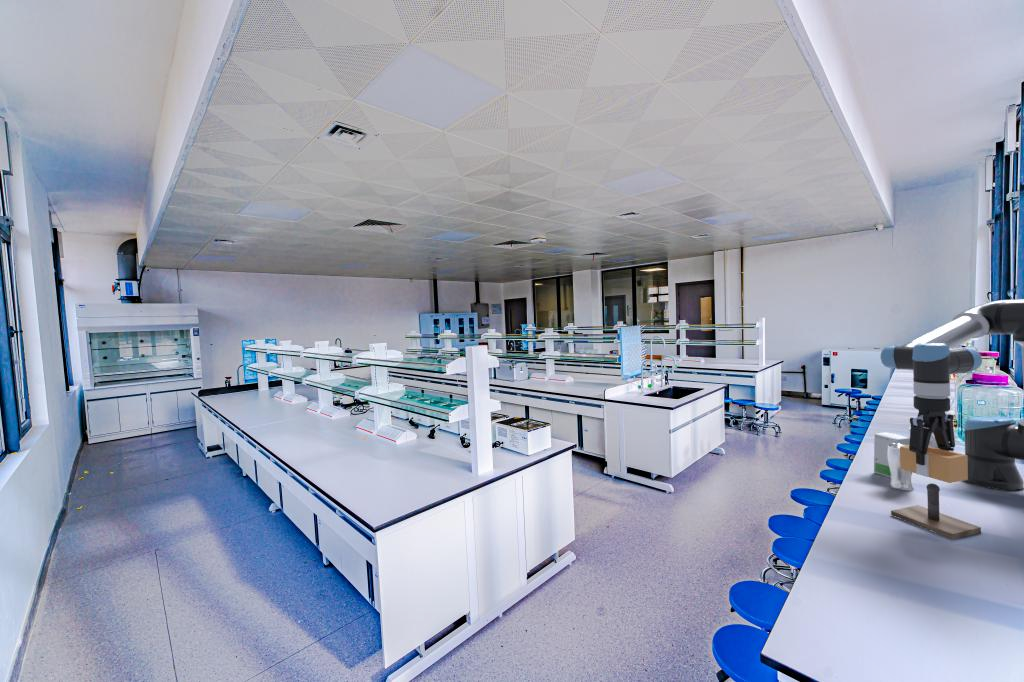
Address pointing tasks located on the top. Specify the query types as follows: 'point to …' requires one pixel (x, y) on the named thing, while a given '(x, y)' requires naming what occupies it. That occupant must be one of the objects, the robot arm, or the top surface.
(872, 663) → the top surface
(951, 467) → the orange link
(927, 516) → the keeper board
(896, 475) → the beer glass
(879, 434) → the skincare box
